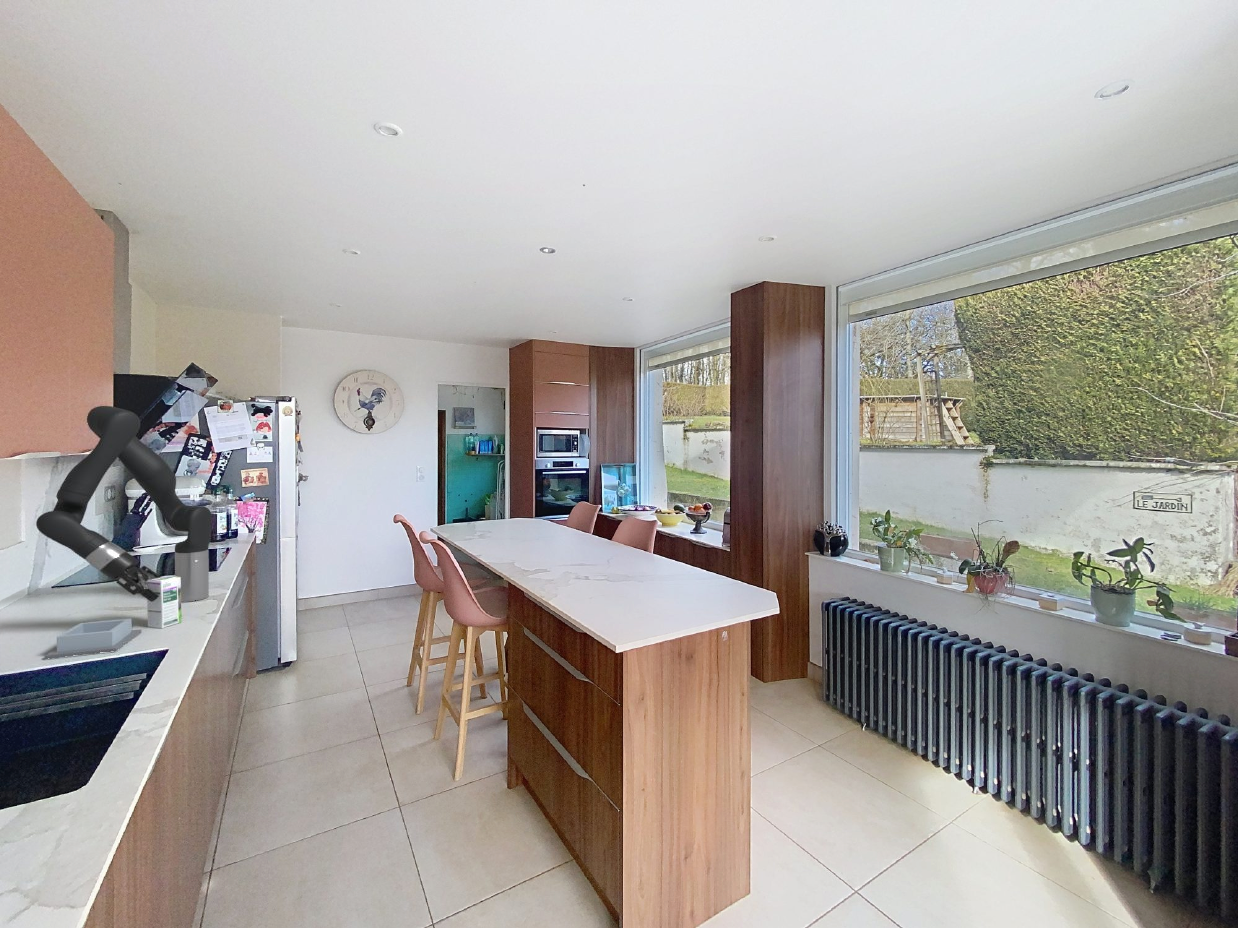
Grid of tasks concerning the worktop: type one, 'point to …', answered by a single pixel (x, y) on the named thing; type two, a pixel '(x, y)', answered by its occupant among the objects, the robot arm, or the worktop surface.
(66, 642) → the holder
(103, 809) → the worktop surface
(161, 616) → the syrup box
